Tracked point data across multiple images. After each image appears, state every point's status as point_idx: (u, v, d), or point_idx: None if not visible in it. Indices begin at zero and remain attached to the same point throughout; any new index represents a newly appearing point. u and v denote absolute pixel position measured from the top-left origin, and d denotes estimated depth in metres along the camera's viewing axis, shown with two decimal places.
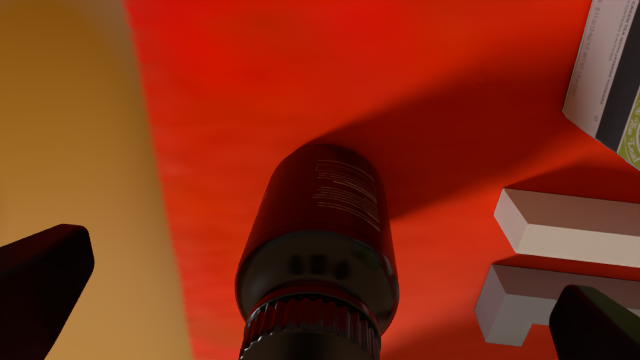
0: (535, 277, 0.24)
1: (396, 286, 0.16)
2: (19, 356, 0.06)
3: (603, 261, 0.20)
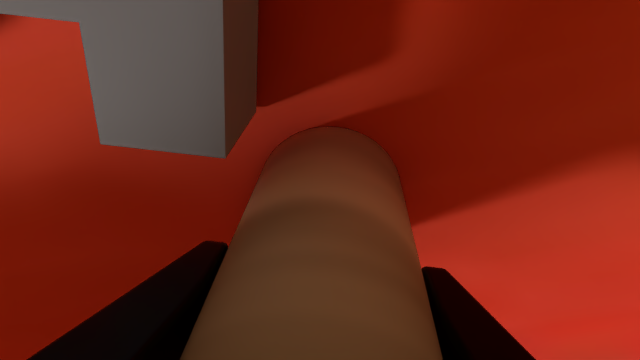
0: None
1: None
2: None
3: None
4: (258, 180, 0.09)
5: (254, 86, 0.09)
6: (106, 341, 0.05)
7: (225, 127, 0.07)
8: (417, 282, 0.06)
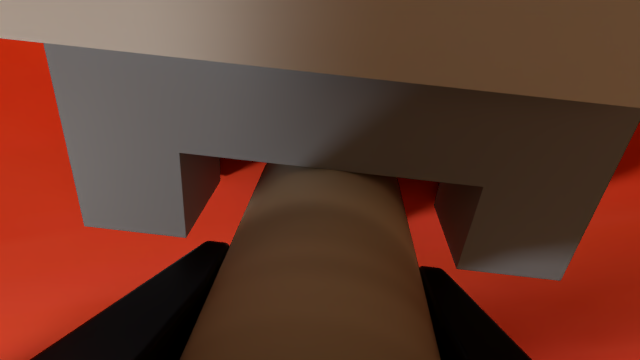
0: None
1: None
2: None
3: (233, 55, 0.06)
4: (257, 184, 0.09)
5: None
6: (108, 341, 0.05)
7: (569, 258, 0.08)
8: (416, 287, 0.06)
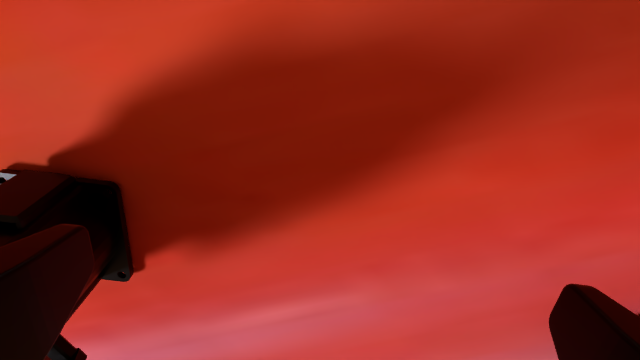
0: None
1: None
2: (19, 356, 0.06)
3: None
4: None
5: None
6: None
7: None
8: None
